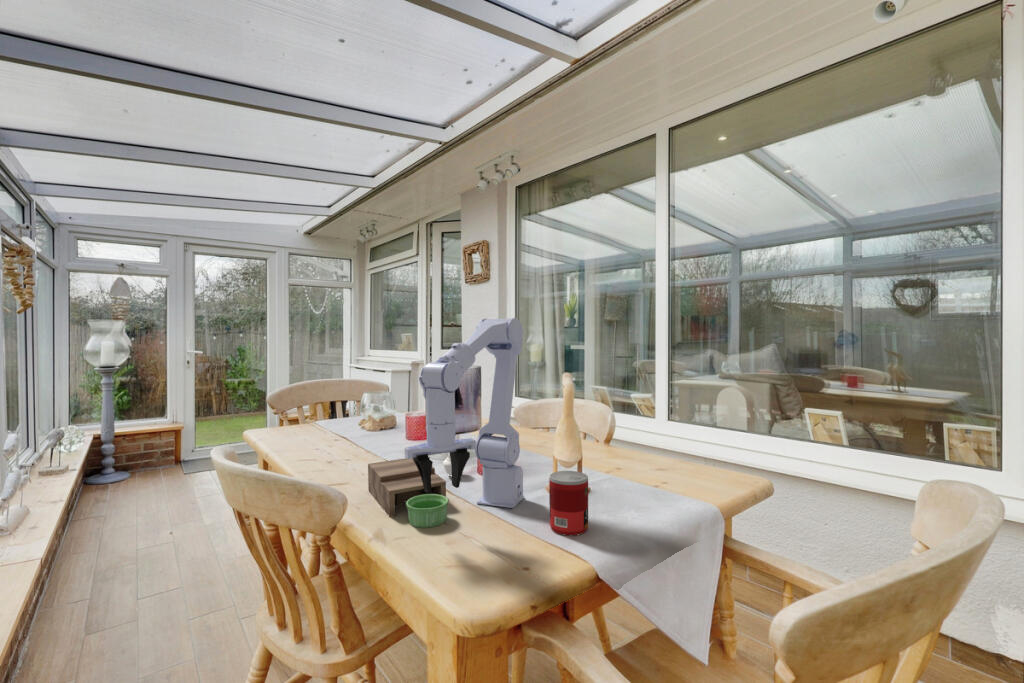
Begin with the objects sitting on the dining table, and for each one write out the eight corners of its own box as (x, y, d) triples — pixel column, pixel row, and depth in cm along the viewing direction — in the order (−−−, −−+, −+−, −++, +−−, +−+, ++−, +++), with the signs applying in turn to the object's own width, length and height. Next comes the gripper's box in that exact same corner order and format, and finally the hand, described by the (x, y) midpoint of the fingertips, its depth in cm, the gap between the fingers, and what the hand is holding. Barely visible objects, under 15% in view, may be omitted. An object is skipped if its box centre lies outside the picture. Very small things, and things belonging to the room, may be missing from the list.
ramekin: (455, 515, 107) (455, 496, 107) (435, 532, 98) (435, 510, 98) (420, 510, 110) (420, 491, 110) (398, 526, 101) (398, 505, 101)
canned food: (593, 534, 96) (593, 480, 96) (554, 537, 95) (554, 483, 95) (581, 519, 104) (581, 469, 103) (545, 522, 102) (545, 471, 102)
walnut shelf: (446, 505, 113) (445, 476, 112) (389, 517, 106) (389, 485, 106) (418, 482, 130) (418, 456, 130) (368, 490, 123) (368, 463, 123)
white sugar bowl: (467, 472, 138) (466, 448, 138) (462, 479, 132) (462, 454, 132) (446, 472, 139) (445, 448, 138) (440, 478, 133) (440, 453, 132)
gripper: (465, 415, 103) (465, 477, 103) (399, 422, 96) (400, 489, 96) (480, 420, 97) (480, 486, 97) (411, 428, 89) (412, 500, 90)
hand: (441, 489), depth 96 cm, fingers open, 5 cm apart
